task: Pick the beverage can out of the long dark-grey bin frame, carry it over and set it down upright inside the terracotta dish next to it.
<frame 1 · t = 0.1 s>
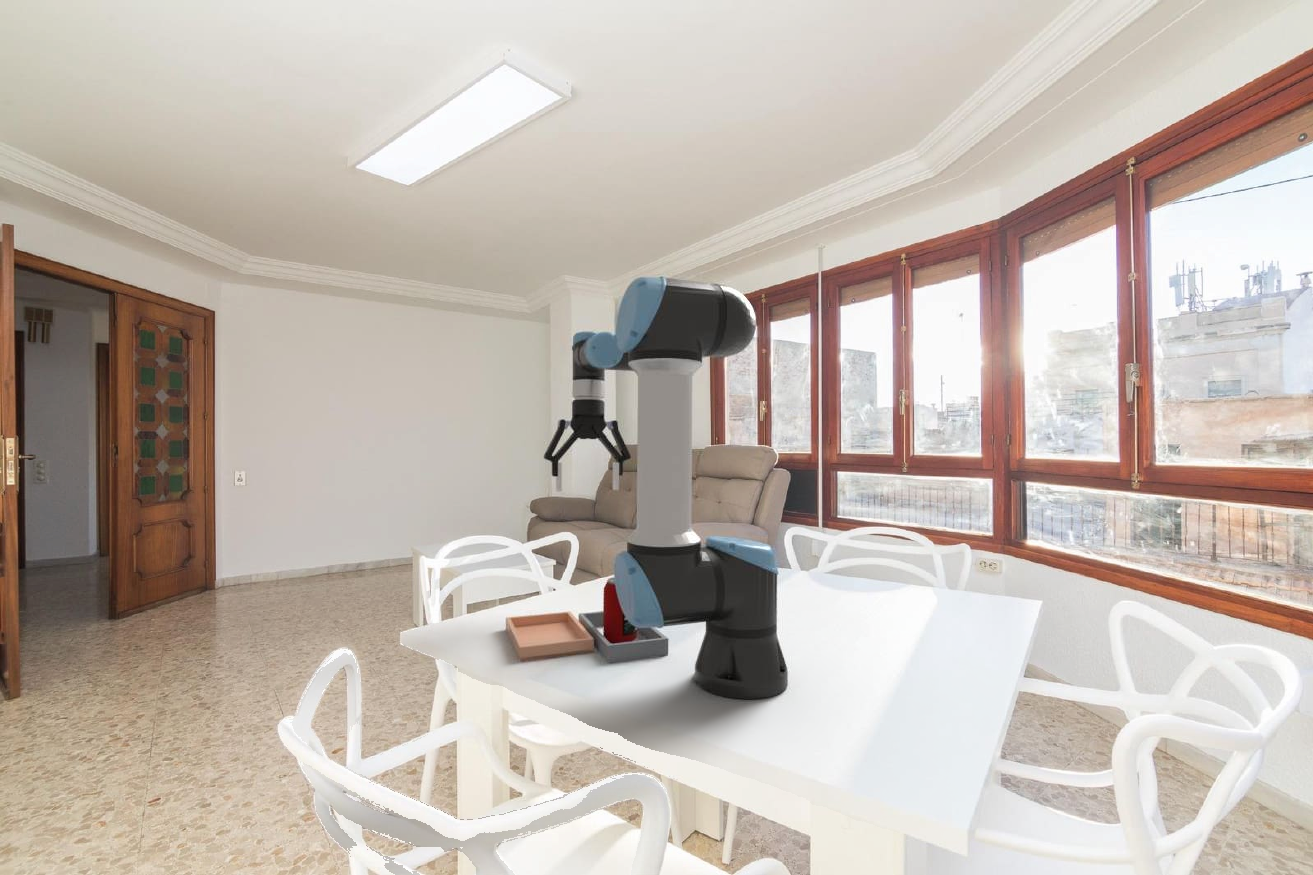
hand: (587, 490, 140), 28 cm above the table, fingers open, 13 cm apart
beverage can: (620, 641, 119), resting in grey bin
terracotta dish: (547, 640, 119), on the table
grey bin: (620, 640, 119), on the table
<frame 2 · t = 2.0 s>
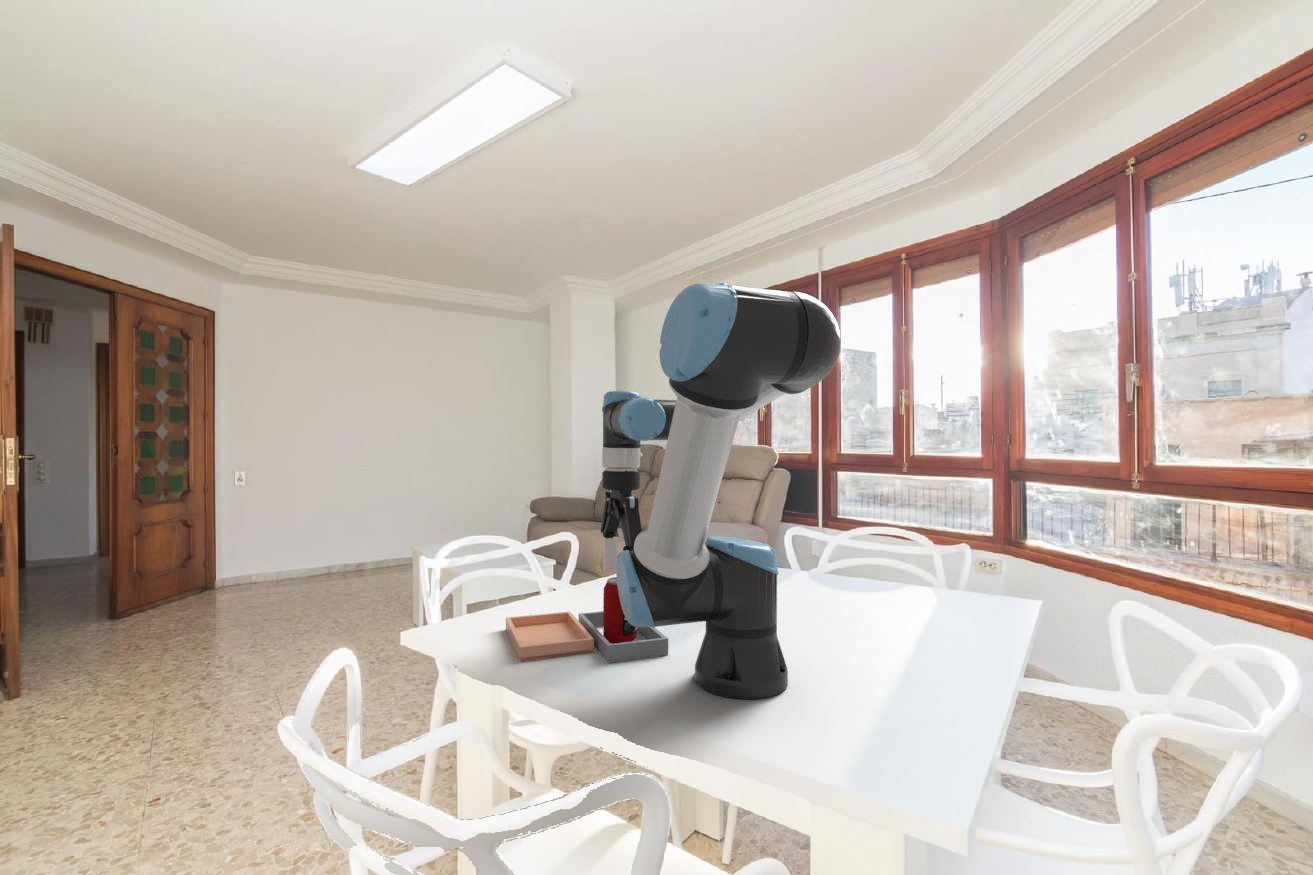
hand: (620, 576, 119), 13 cm above the table, fingers open, 13 cm apart
nothing on the table moved.
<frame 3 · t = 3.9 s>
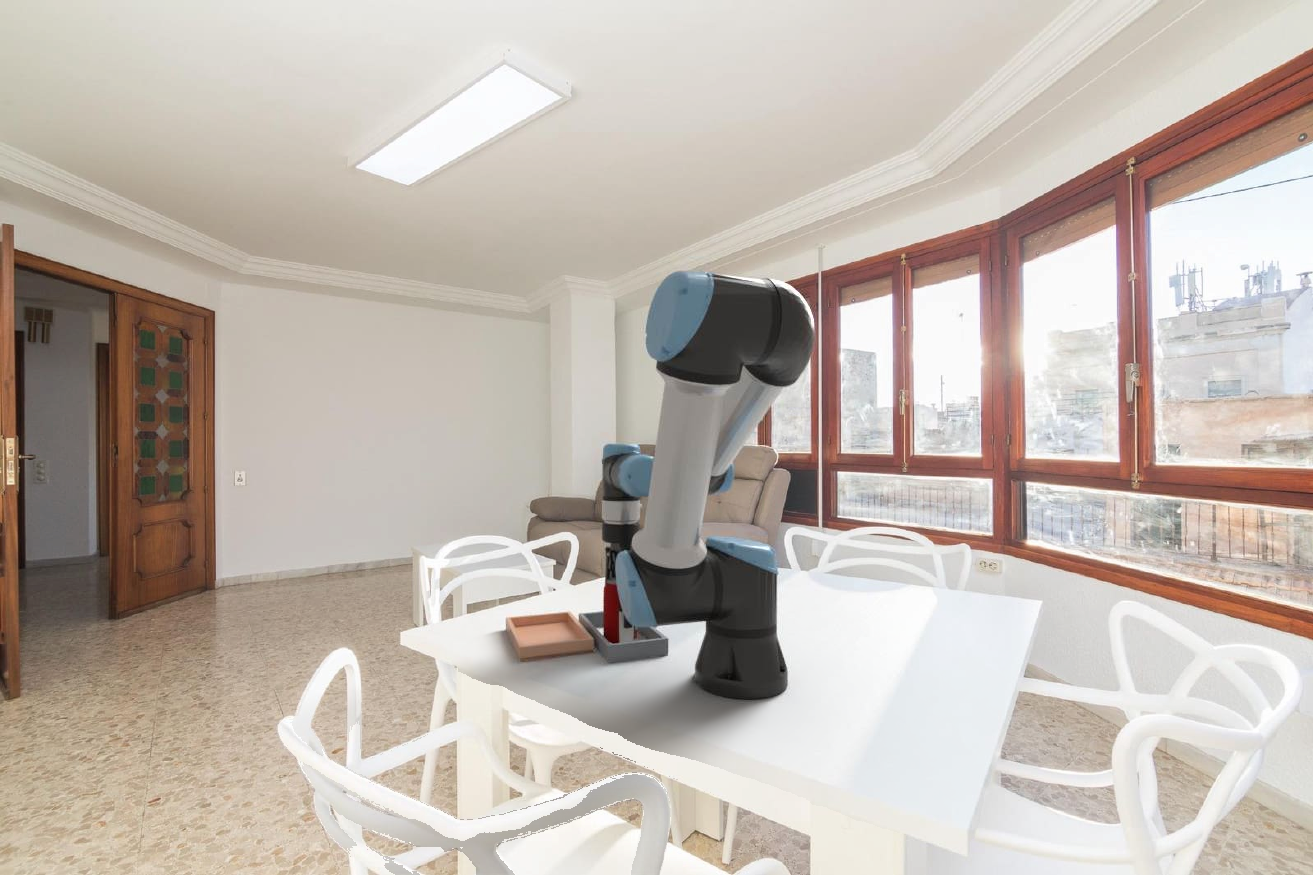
hand: (620, 637, 119), 1 cm above the table, fingers closed on beverage can, 7 cm apart
beverage can: (620, 641, 119), resting in grey bin, touching gripper
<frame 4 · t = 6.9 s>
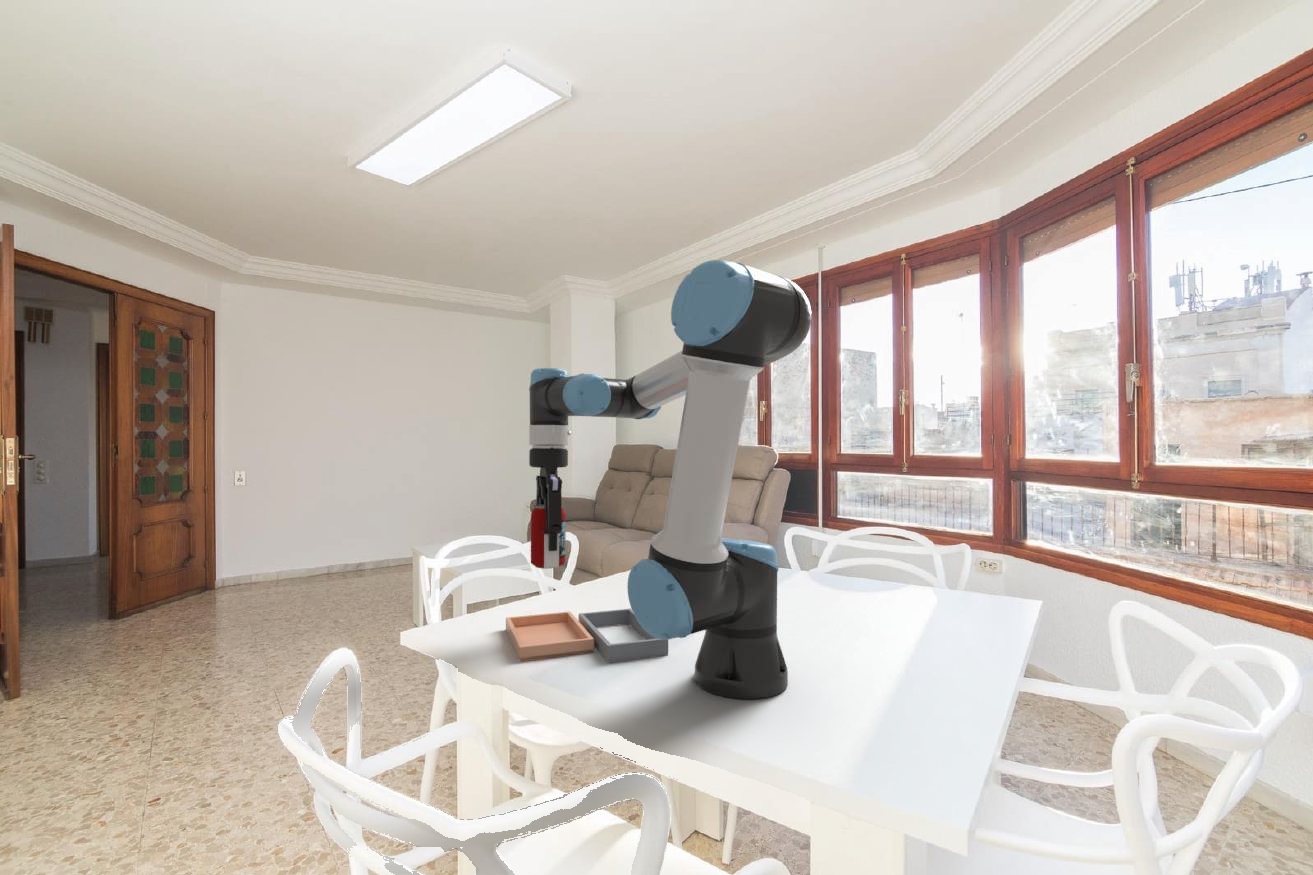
hand: (547, 563, 119), 15 cm above the table, fingers closed on beverage can, 7 cm apart
beverage can: (547, 567, 119), point 14 cm above the table, touching gripper
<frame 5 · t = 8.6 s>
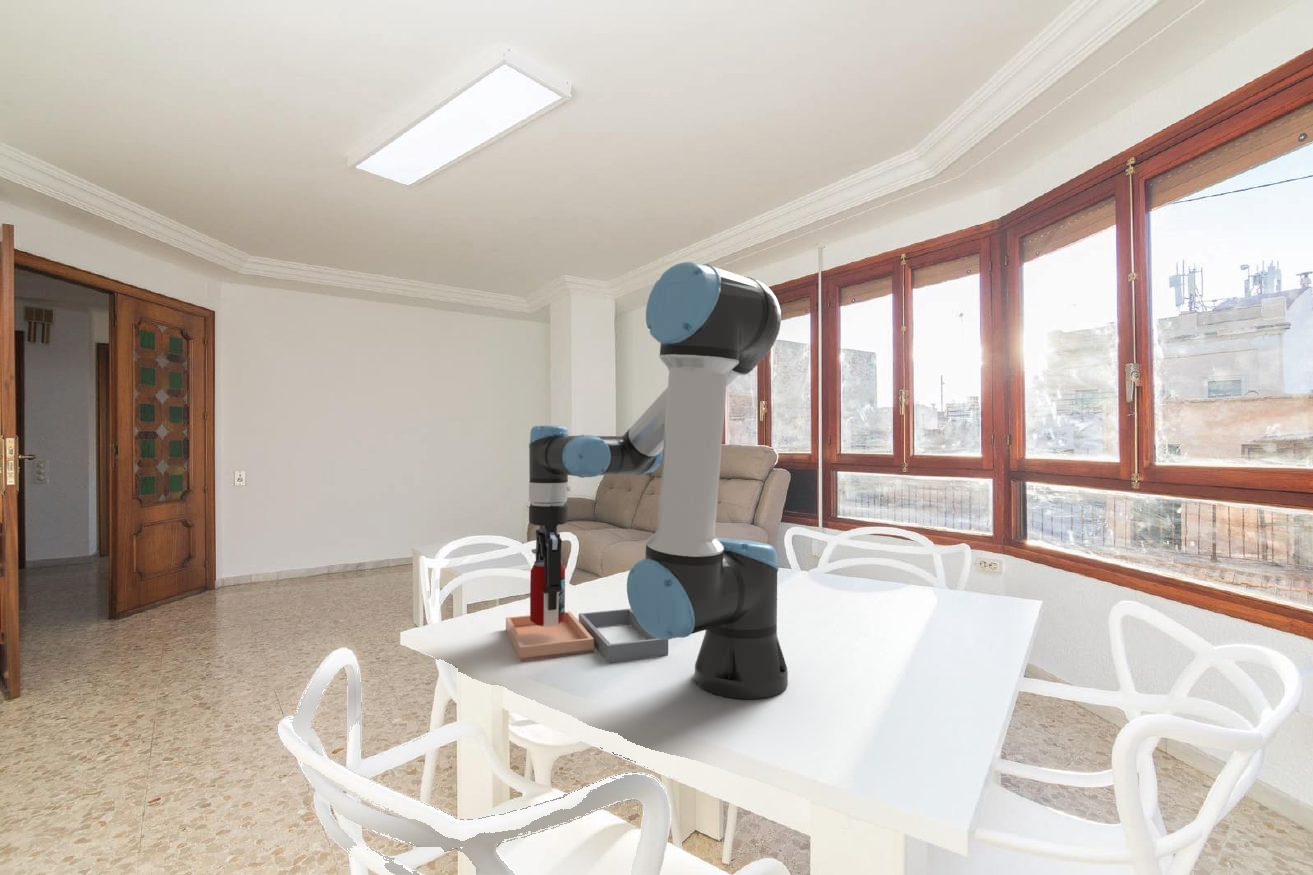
hand: (547, 620, 119), 4 cm above the table, fingers closed on beverage can, 7 cm apart
beverage can: (547, 623, 119), point 3 cm above the table, touching gripper
when the fingers open (2 cm above the table, at t = 9.8 s): beverage can drops 1 cm, resting on terracotta dish.
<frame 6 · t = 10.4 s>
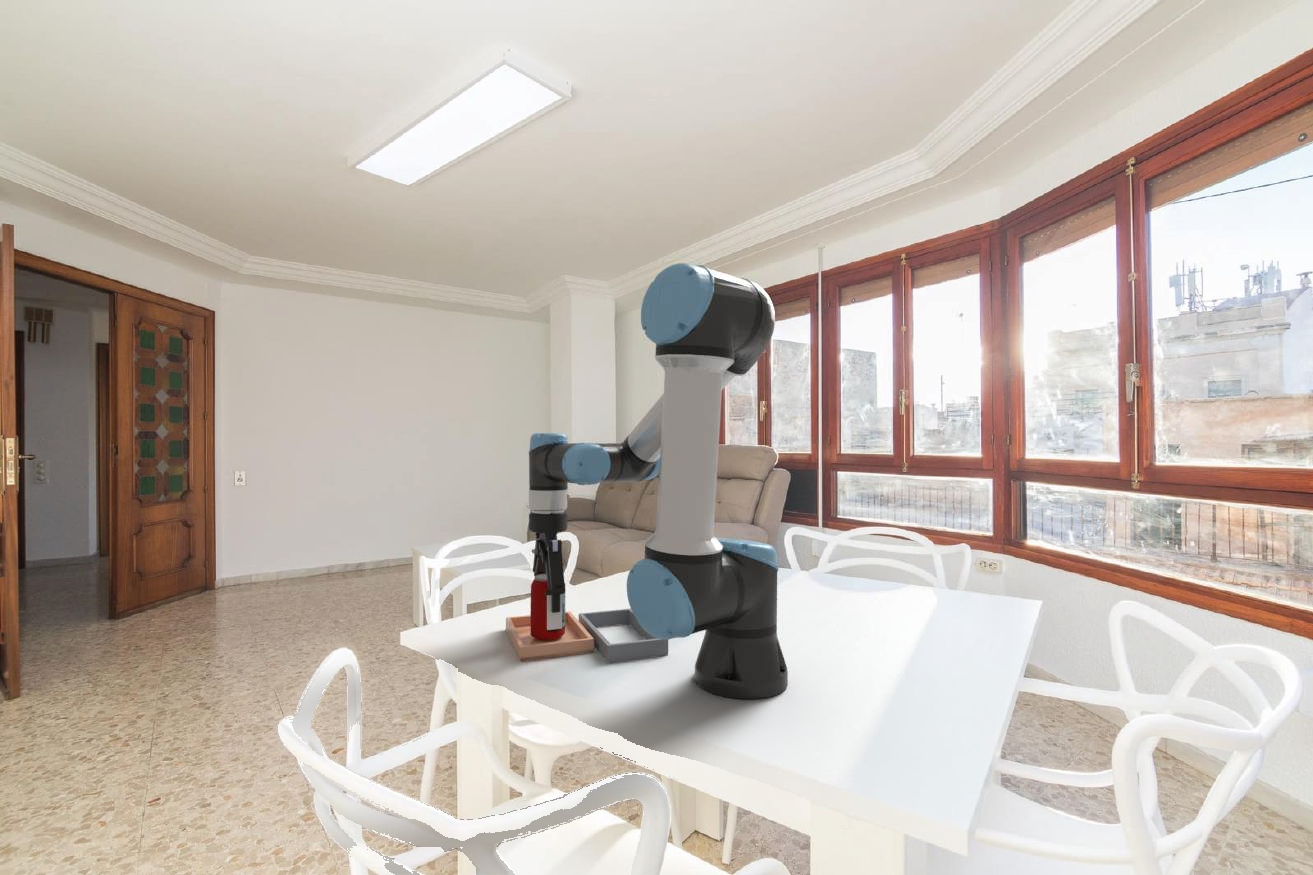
hand: (547, 619, 119), 4 cm above the table, fingers open, 13 cm apart
beverage can: (547, 638, 119), resting on terracotta dish
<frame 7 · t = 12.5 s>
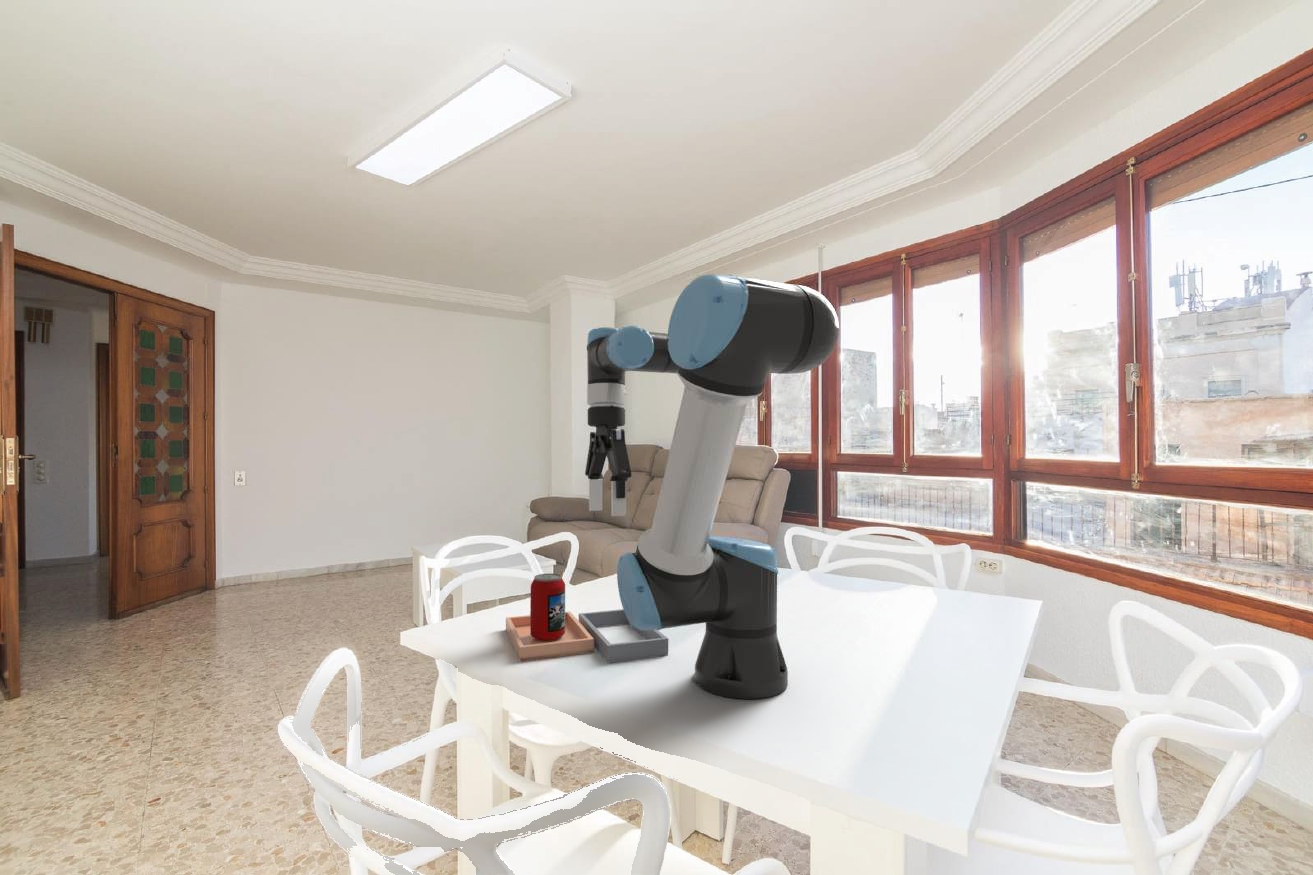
hand: (606, 513, 120), 25 cm above the table, fingers open, 13 cm apart
nothing on the table moved.
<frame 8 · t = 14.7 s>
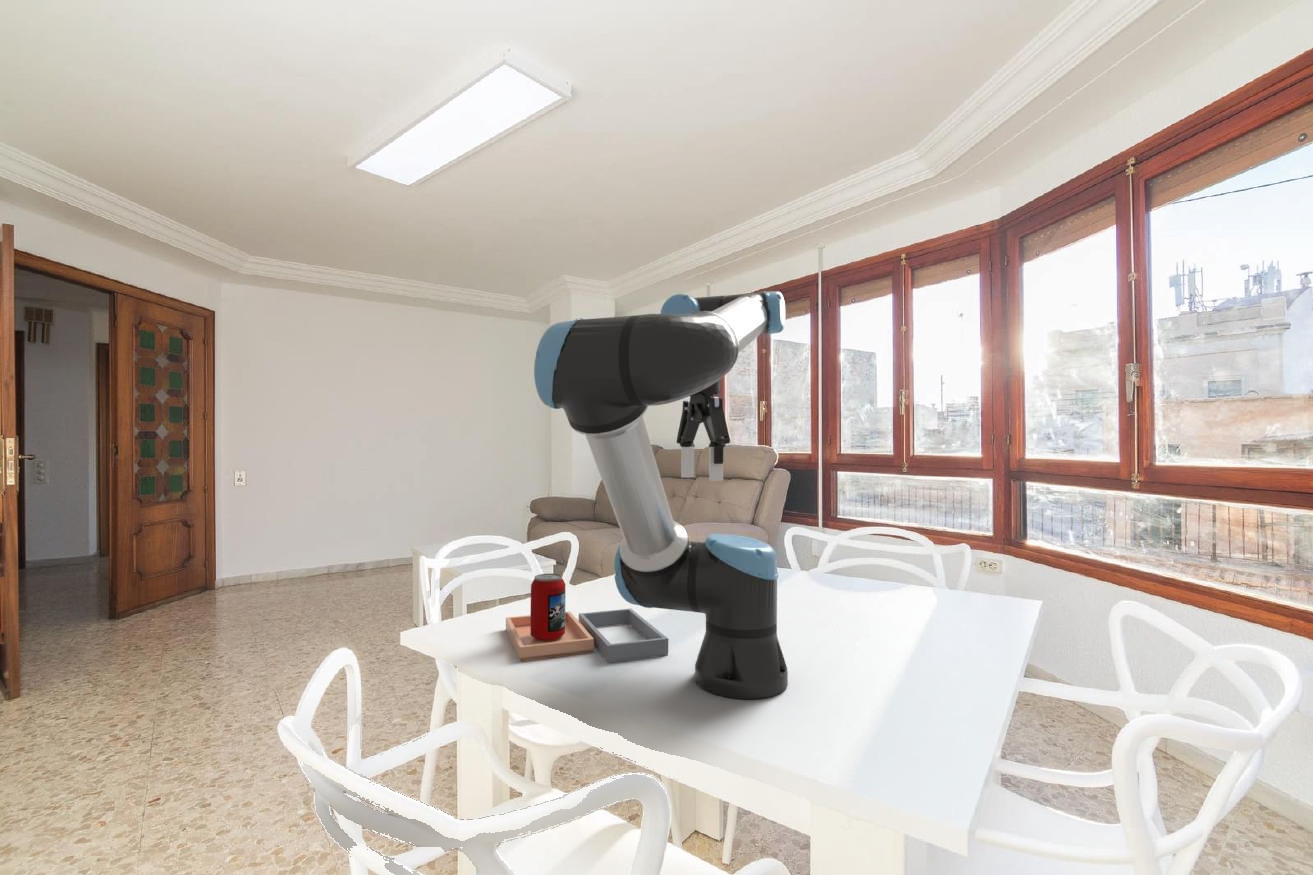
hand: (701, 479, 123), 32 cm above the table, fingers open, 13 cm apart
nothing on the table moved.
at the end: beverage can inside the target area on the terracotta dish (0.1 cm from its centre), point 0.4 cm above the terracotta dish's base; beverage can tilted 0°; the gripper is holding nothing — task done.
